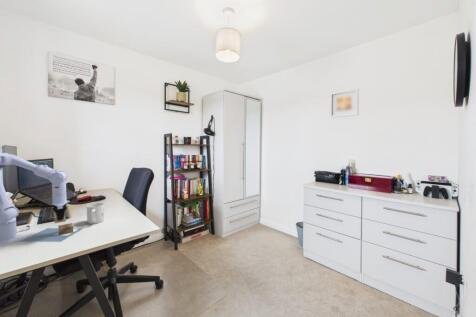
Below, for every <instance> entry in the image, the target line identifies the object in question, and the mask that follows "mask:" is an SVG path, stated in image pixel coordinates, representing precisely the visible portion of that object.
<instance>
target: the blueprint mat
mask: <svg viewBox="0 0 476 317" xmlns="http://www.w3.org/2000/svg"><path fill="white" fill-rule="evenodd" d="M83 229H84V227H83V228H82V227H80V228H79V227H78V228H74V227H73V233H68V234H64V235H59V227H56V228H55V227H53V228H52V227H51V228H50V227H47V228H44V229H42V230H41V231H39V232H36V233H33V234H32V235H30V236H28V237H26V238H24V239H22V240H20V241H19V242H23V243H24V242H25V243H26V242H28V243H29V242H30V243H34V242H37V243H38V242H40V243H41V242H45V243H46V242H47V243H49V242H50V243H51V242H52V243H55V242H57V243H59V242H60V243H61V242H63V241H65V240H66V239H68V238H70V237H71V236H73V235H75V234H78V233H79V232H80V231H82V230H83Z"/></svg>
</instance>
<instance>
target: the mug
mask: <svg viewBox="0 0 476 317" xmlns="http://www.w3.org/2000/svg"><path fill="white" fill-rule="evenodd" d="M104 220H105V203H102V202H94V203H90V204H87V205H86V222H87V224H88V225H96V224H100V223H102V222H103V221H104Z"/></svg>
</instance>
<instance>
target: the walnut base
mask: <svg viewBox="0 0 476 317" xmlns="http://www.w3.org/2000/svg"><path fill="white" fill-rule="evenodd" d="M57 228H59V235H64V234H68V233H73V228H74V225H73V222H71V223H65V224H59V225H58V227H57Z"/></svg>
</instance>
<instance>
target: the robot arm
mask: <svg viewBox="0 0 476 317" xmlns="http://www.w3.org/2000/svg"><path fill="white" fill-rule="evenodd" d="M7 166H17V167H20V168H23V169H25V170H29V171H30V172H31V171H32V172H33V174H34V175H35V176H37V177H41V178H43V179H46V180H48V181H49V182H50V183H51V192H52V195H51V196H52V197H51V198H52V207H53V208H52V210H53V211H54V212H55V213H56V216H57V219H58V221H59V220H63V219H64V213H65V214H66V210H67V208H68V206H67V203H70V200H67V198H68V197H67V181H66V180H68V178H69V177H68V174H67V173H66V172H65V171H63V170H59V169H54V168H51V167H50V166H49V165H47V164H44V165H43V164H40V165H38V164H36V163H33V162H31V161H28V160H26V159H24V158H22V157H19V156H18V155H15V154H11V153H10V152H0V172H1V171H2V170H3V169H4V168H5V167H7ZM19 214H20V211H19V208H17V207H16V206H15V204H14V203H13V202H10V200H9V197H8V195H7V192H6V189H5V186H4V184H3V180H2V178H1V177H0V244H5V243H9V242H11V241H13V240H15V239H17V238H19V237H22V236H23V235H22V234H18V233H17V217H18V216H19Z"/></svg>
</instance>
